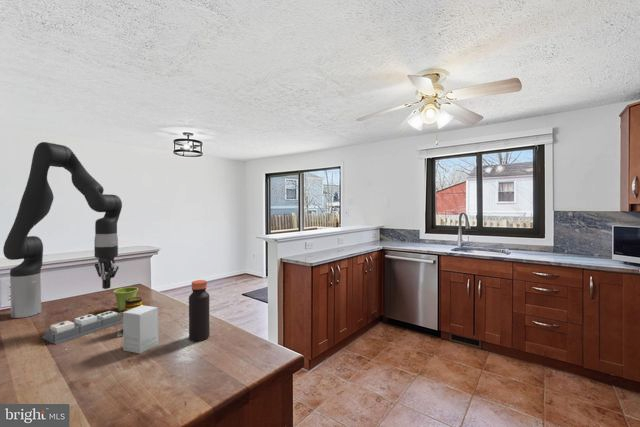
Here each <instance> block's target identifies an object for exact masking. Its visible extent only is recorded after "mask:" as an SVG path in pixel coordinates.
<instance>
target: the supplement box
mask: <svg viewBox="0 0 640 427" xmlns="http://www.w3.org/2000/svg"><path fill="white" fill-rule="evenodd" d="M122 320H123V323H122V329H123V336H122V337H123V338H122V339H123V341H122V342H123V344H122V345H123V351H126V352H130V353H135V354H139V355H140V354H142V353H145V352H146V351H149V350H150V349H153V347H156V346H158V345H159V307H156V306H149V305H144V304H142V306H139V307H136V308H133V309H131V310H128V311H125V312H124V311H123V312H122Z"/></svg>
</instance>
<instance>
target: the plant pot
mask: <svg viewBox="0 0 640 427" xmlns="http://www.w3.org/2000/svg"><path fill="white" fill-rule="evenodd" d="M138 291H139V288H138V287H135V286H133V287H132V286H130V287H129V286H128V287H127V286H126V287H121V288H117V289H114V290H113V294H114V297H115V299H116V306H117V311H119V312H121V311H124V308H125V304H126V303H125V301H126V300H127V299H129V298H133V297H137V293H138Z"/></svg>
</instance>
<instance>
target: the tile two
mask: <svg viewBox="0 0 640 427" xmlns="http://www.w3.org/2000/svg"><path fill="white" fill-rule="evenodd" d="M95 321H97V316H96V315H93V314H91V313H90V314H86V315H82V316H79V317H75V318H74V322H75V324H77V325H80V326H82V325H85V324H89V323H92V322H95Z"/></svg>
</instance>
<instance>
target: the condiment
mask: <svg viewBox="0 0 640 427" xmlns="http://www.w3.org/2000/svg"><path fill="white" fill-rule="evenodd" d="M125 303H126V304H125V308H124V310H123V312H125V311H128V310H131V309H133V308H136V307H139V306H142V305H143V298H142V297H140V296H136V297H133V298H129V299H127V300H126V301H125ZM116 332H117V336H116V337H117V338H118V337H123V328H117V331H116Z"/></svg>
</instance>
